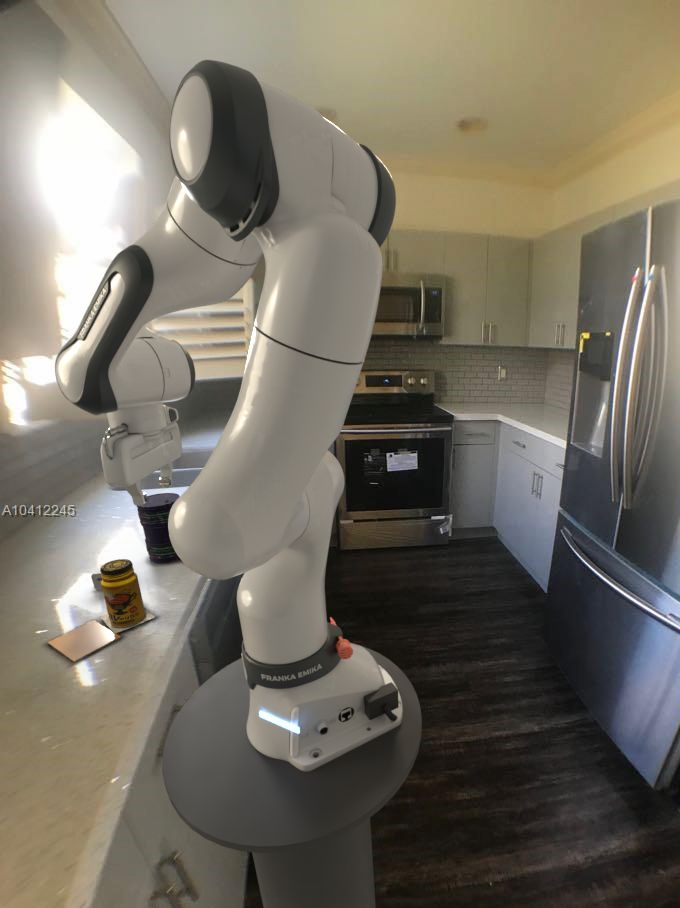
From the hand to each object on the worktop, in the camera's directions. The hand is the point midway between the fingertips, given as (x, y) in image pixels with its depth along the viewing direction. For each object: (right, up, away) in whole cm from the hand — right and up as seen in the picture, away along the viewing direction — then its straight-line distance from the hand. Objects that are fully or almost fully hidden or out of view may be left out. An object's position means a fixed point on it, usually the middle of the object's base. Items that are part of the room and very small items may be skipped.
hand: (154, 494), depth 83 cm
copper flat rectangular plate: (-13, -27, 0) cm, 29 cm away
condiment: (-8, -24, +6) cm, 26 cm away
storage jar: (-12, -14, +32) cm, 37 cm away
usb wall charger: (-20, -19, +20) cm, 34 cm away
